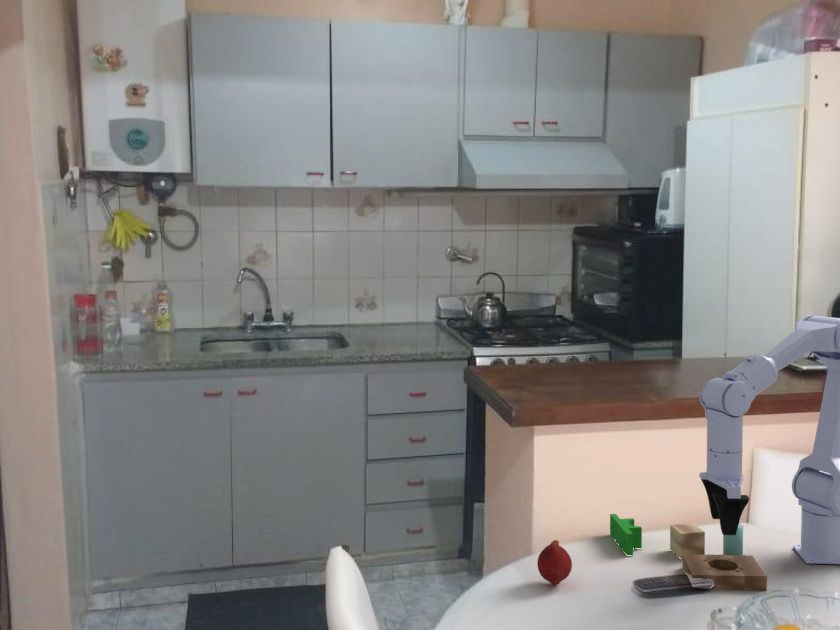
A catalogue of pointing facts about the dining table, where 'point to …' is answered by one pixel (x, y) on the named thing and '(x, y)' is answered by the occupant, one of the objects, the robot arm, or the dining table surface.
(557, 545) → the onion
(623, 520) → the green pronged block
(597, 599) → the dining table surface
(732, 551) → the teal dowel
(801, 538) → the robot arm
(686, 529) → the wooden cube block
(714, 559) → the socket block
